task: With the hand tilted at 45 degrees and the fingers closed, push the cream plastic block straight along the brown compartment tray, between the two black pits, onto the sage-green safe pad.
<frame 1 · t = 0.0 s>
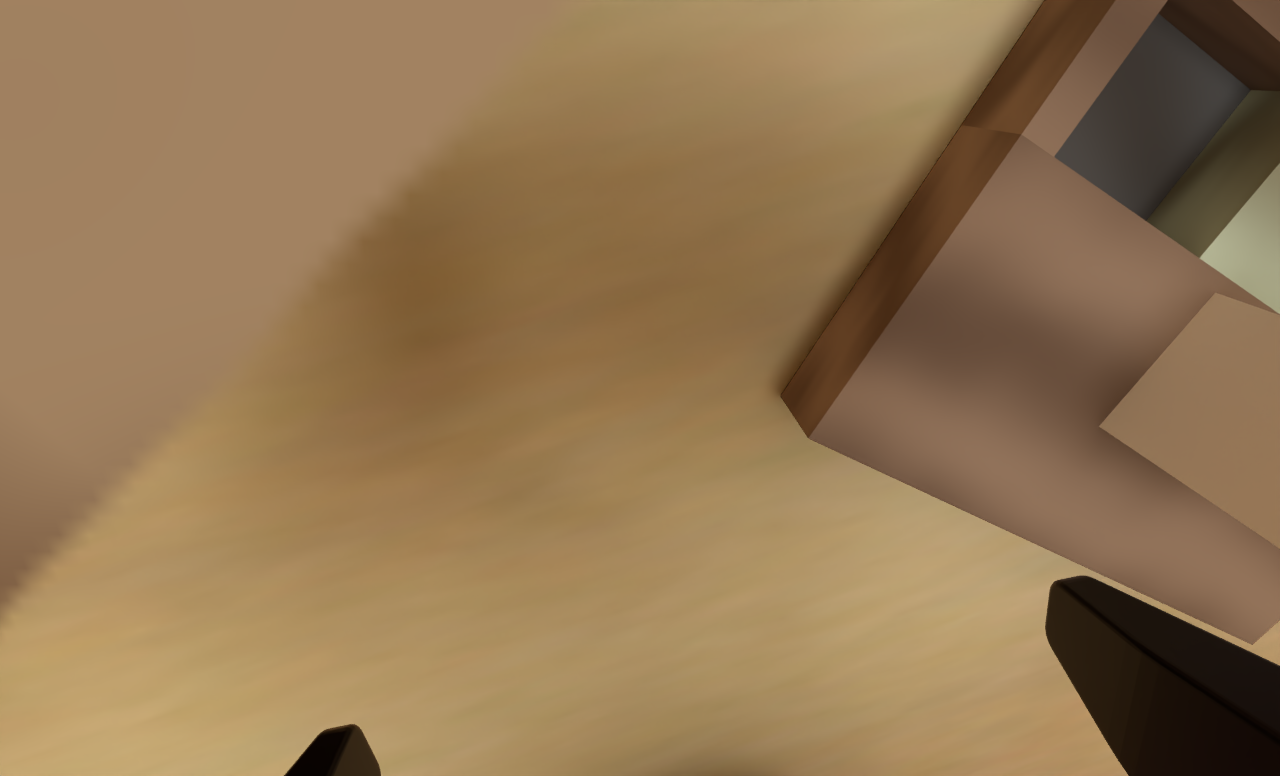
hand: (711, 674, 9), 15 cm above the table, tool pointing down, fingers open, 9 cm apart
block: (1206, 393, 22), point 3 cm above the table, touching brown compartment tray
brown compartment tray: (1156, 334, 25), on the table
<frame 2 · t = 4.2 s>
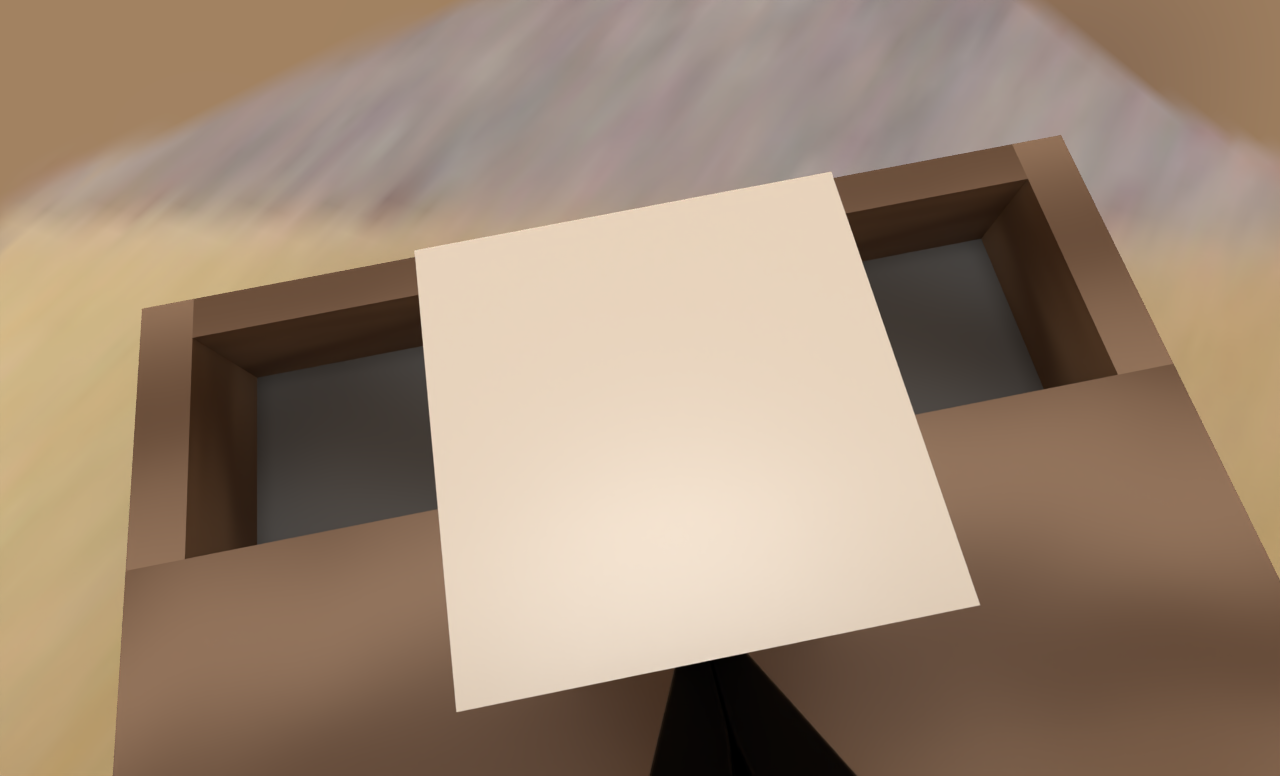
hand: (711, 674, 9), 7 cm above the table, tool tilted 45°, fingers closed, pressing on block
block: (669, 515, 14), point 3 cm above the table, touching gripper
brown compartment tray: (677, 575, 16), on the table
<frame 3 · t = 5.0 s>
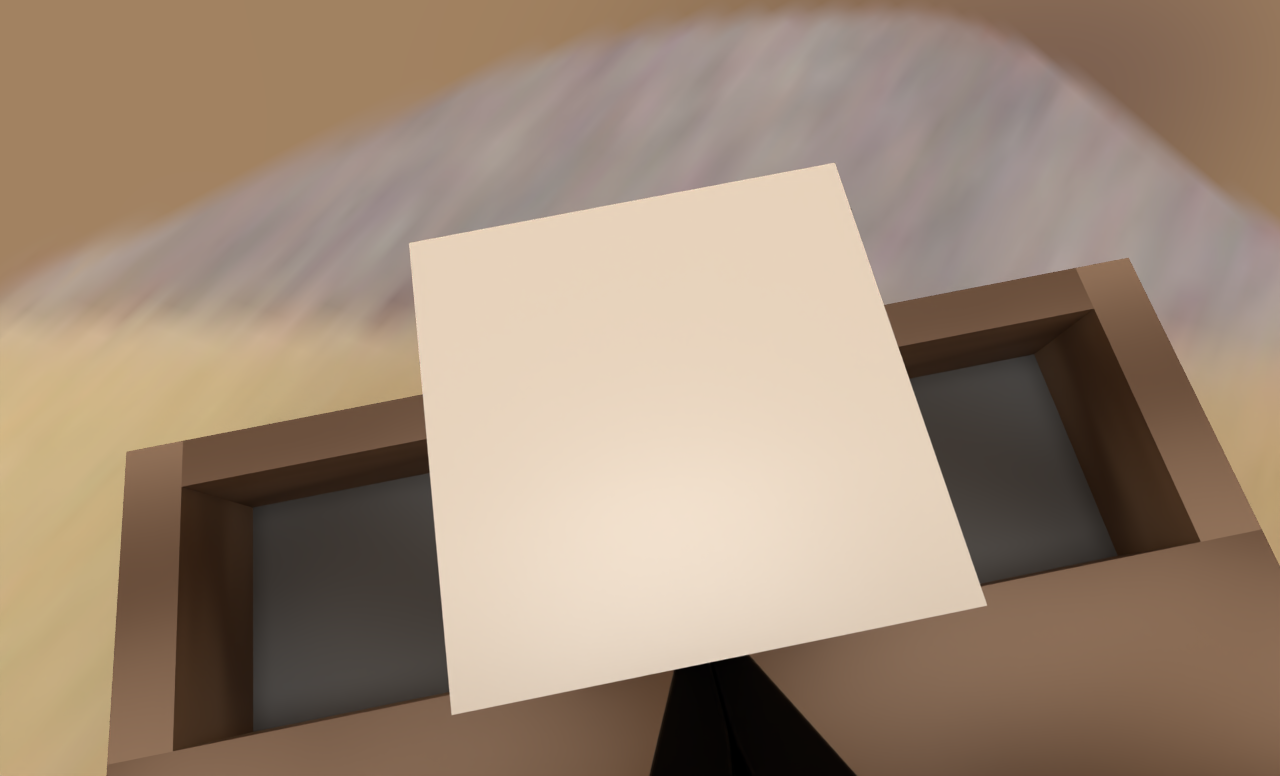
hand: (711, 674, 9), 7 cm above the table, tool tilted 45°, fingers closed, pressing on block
block: (669, 513, 14), point 3 cm above the table, touching gripper
brown compartment tray: (710, 738, 15), on the table
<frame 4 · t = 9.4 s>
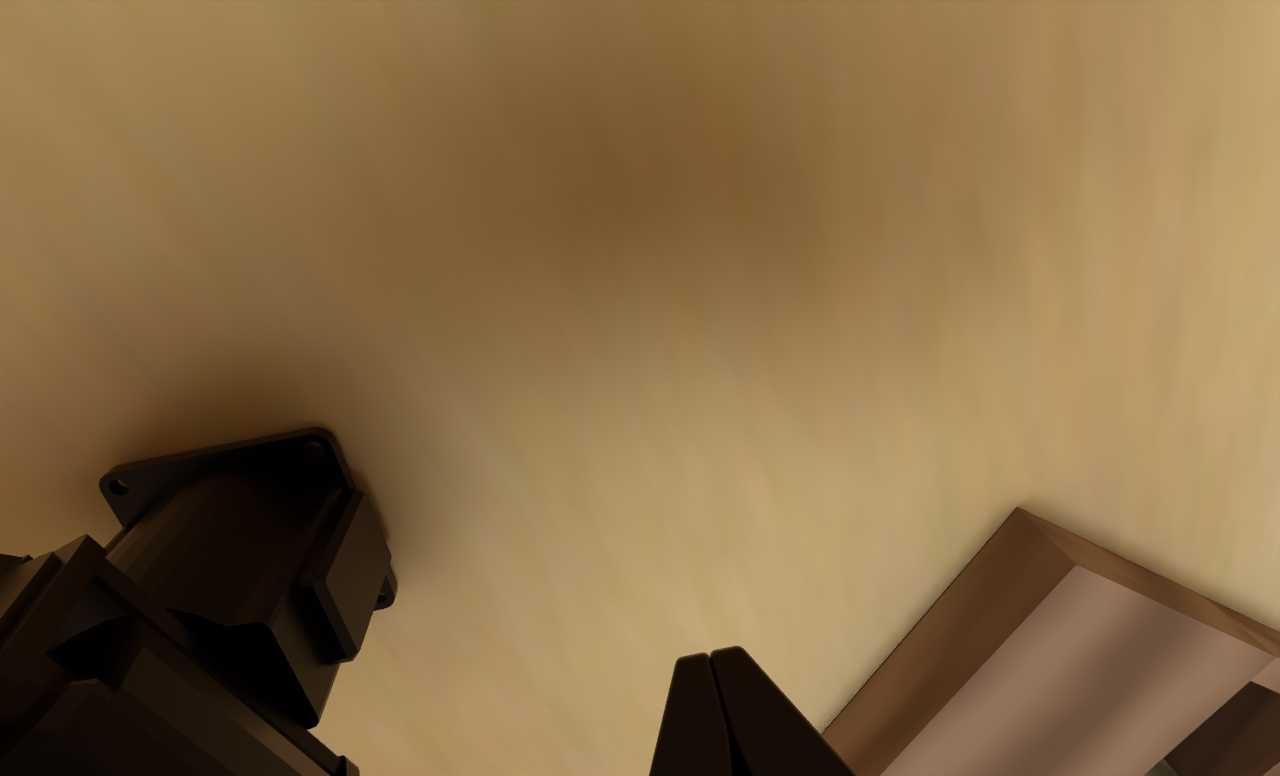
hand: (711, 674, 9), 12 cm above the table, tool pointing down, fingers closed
brown compartment tray: (983, 766, 30), on the table
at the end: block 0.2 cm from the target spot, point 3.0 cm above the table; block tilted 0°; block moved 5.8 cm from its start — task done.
